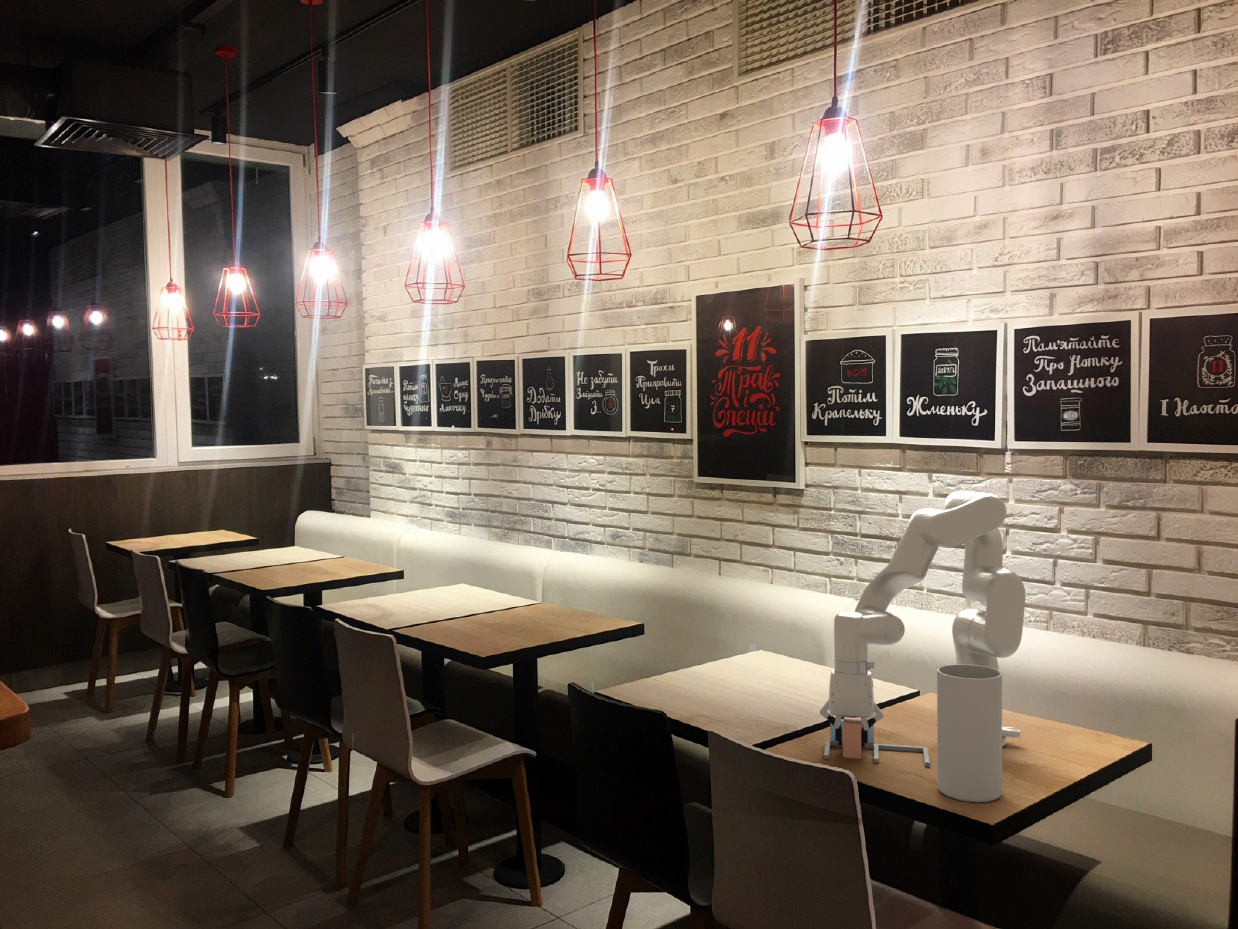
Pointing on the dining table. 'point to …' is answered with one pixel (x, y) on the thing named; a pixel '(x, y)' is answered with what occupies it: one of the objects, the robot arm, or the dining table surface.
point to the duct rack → (875, 745)
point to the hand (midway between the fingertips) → (851, 744)
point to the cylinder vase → (969, 732)
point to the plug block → (852, 737)
